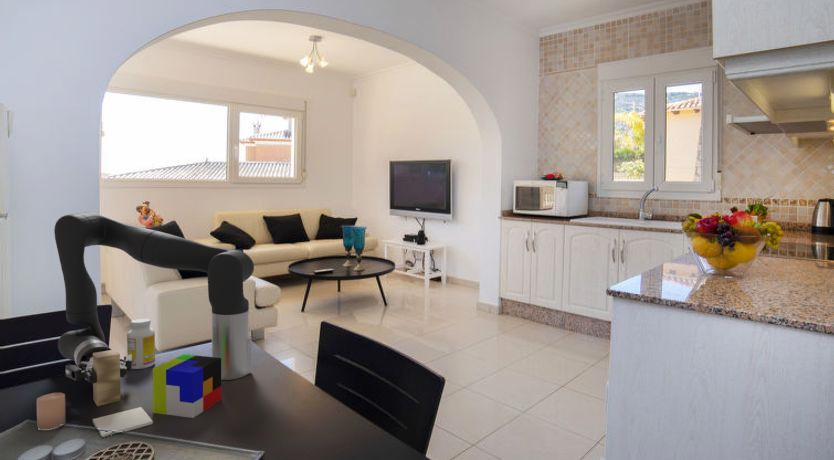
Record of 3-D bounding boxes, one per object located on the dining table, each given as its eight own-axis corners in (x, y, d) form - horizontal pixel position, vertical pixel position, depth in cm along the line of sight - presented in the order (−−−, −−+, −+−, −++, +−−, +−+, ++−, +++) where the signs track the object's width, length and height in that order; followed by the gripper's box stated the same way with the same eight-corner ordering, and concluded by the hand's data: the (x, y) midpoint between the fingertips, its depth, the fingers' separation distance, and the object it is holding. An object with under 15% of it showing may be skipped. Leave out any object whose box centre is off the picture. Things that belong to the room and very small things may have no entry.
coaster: (141, 409, 106) (141, 406, 106) (152, 423, 99) (152, 421, 99) (92, 421, 99) (92, 419, 99) (101, 438, 93) (101, 435, 93)
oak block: (115, 394, 113) (115, 349, 113) (120, 400, 110) (119, 354, 109) (93, 399, 110) (92, 353, 109) (97, 406, 107) (96, 358, 106)
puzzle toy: (193, 418, 102) (193, 372, 102) (153, 413, 104) (152, 368, 104) (221, 399, 112) (221, 358, 112) (183, 395, 114) (183, 354, 113)
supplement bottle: (157, 361, 137) (156, 317, 136) (152, 368, 131) (152, 322, 130) (130, 362, 135) (130, 318, 134) (124, 371, 129) (124, 324, 128)
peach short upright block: (63, 418, 101) (63, 390, 100) (67, 426, 97) (66, 397, 97) (36, 425, 97) (35, 396, 97) (38, 433, 94) (37, 403, 94)
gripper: (58, 347, 115) (70, 366, 102) (126, 337, 125) (144, 353, 112) (59, 378, 115) (70, 400, 103) (126, 365, 125) (144, 384, 113)
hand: (109, 375), depth 108 cm, fingers open, 5 cm apart
